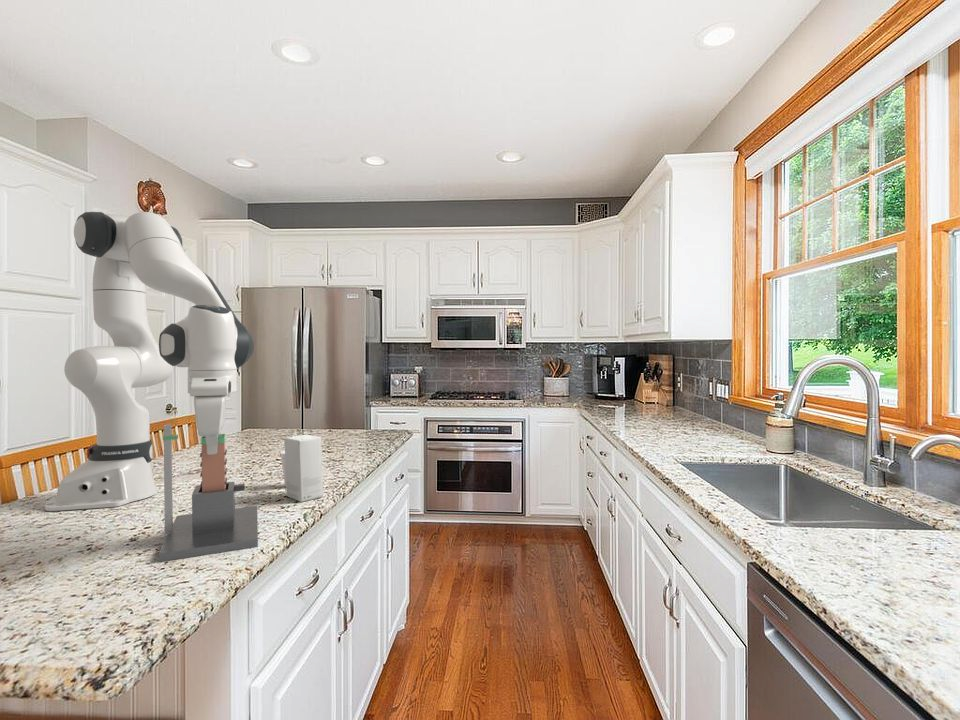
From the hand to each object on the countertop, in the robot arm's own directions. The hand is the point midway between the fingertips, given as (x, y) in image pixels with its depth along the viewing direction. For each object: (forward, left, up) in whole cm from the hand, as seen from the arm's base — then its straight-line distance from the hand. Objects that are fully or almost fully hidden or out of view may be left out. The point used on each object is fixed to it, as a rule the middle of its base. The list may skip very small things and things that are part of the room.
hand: (213, 451), depth 99 cm
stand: (0, 0, -17) cm, 17 cm away
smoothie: (+17, +31, -17) cm, 39 cm away
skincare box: (+19, +19, -17) cm, 32 cm away
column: (0, 0, -9) cm, 9 cm away
